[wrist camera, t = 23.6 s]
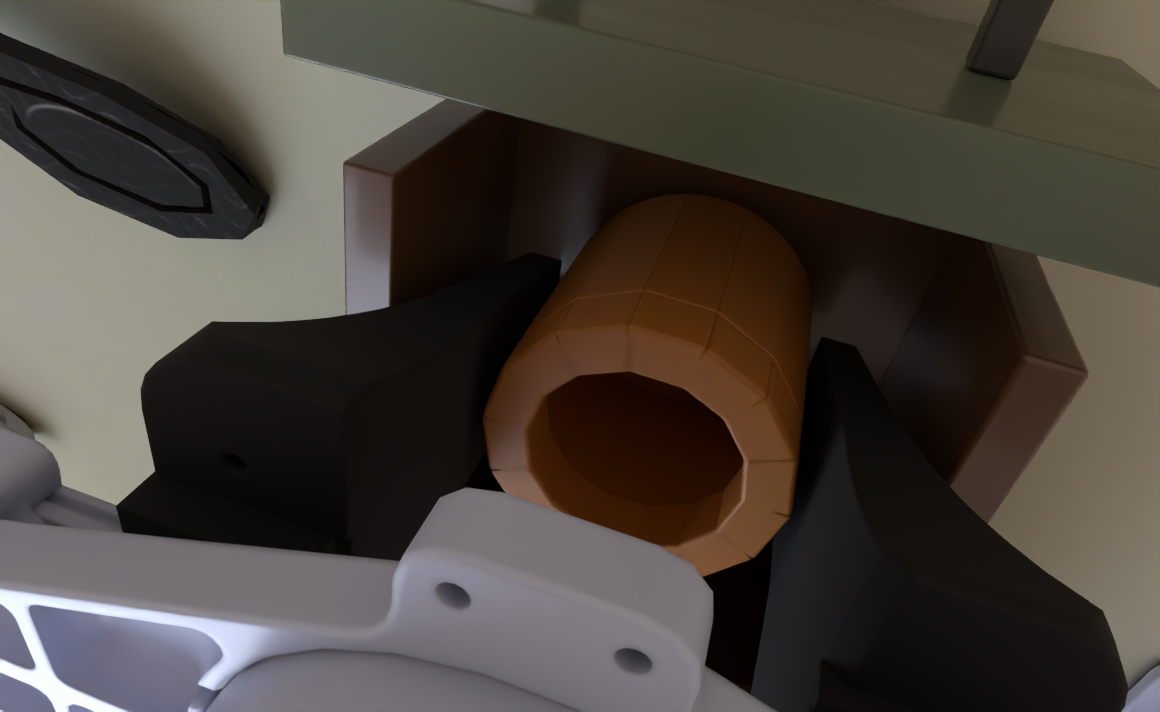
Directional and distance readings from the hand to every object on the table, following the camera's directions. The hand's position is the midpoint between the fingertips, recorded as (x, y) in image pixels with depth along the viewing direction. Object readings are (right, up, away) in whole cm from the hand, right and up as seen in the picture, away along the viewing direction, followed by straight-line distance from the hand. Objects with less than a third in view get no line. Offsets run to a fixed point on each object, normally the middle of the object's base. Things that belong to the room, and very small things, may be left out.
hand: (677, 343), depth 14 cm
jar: (0, +1, +1) cm, 1 cm away
